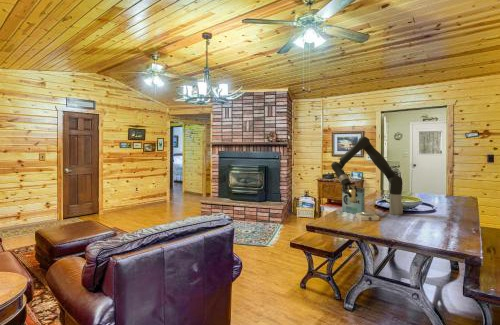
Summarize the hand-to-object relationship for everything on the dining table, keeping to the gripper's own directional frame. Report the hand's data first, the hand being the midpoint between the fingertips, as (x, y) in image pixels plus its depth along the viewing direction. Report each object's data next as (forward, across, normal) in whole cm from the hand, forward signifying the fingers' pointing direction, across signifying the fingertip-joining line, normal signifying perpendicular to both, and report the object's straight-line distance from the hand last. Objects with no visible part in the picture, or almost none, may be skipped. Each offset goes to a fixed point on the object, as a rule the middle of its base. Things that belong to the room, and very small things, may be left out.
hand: (353, 196), depth 240 cm
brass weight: (+2, 0, +4) cm, 5 cm away
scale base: (+17, +7, +8) cm, 20 cm away
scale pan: (+14, +7, +4) cm, 16 cm away
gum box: (+3, +9, +22) cm, 24 cm away
